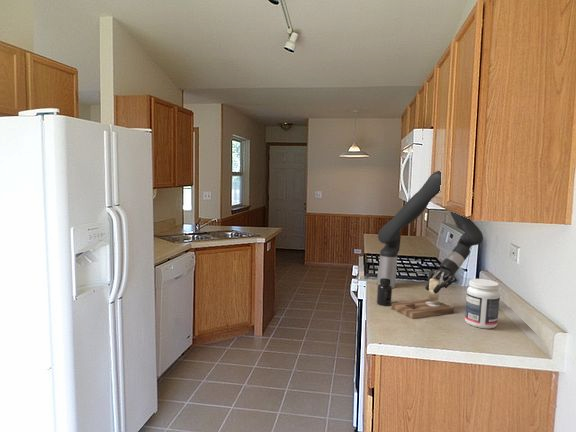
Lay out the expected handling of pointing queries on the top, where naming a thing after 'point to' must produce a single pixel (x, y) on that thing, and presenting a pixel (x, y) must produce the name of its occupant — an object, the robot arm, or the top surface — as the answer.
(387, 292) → the supplement bottle
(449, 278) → the robot arm
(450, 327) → the top surface
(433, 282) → the birch peg
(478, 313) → the supplement tub
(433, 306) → the walnut board
